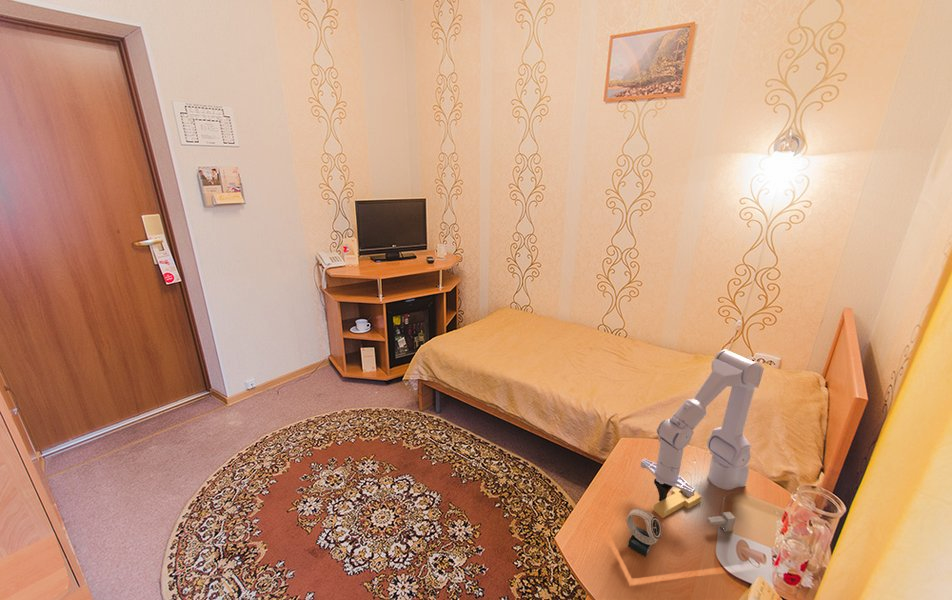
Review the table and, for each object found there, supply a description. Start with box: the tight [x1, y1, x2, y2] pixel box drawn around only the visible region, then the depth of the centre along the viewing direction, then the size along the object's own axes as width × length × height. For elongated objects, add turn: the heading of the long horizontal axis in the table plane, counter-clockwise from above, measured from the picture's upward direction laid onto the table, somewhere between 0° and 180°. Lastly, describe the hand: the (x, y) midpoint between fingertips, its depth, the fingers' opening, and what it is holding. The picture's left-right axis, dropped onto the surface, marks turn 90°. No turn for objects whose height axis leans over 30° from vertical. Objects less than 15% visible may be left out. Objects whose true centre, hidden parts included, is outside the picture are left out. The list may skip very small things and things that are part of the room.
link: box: [653, 487, 702, 519], centre depth 109 cm, size 14×5×2 cm, turn 116°
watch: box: [626, 507, 662, 557], centre depth 97 cm, size 6×8×11 cm
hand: (662, 500), depth 110 cm, fingers closed, pressing on link
